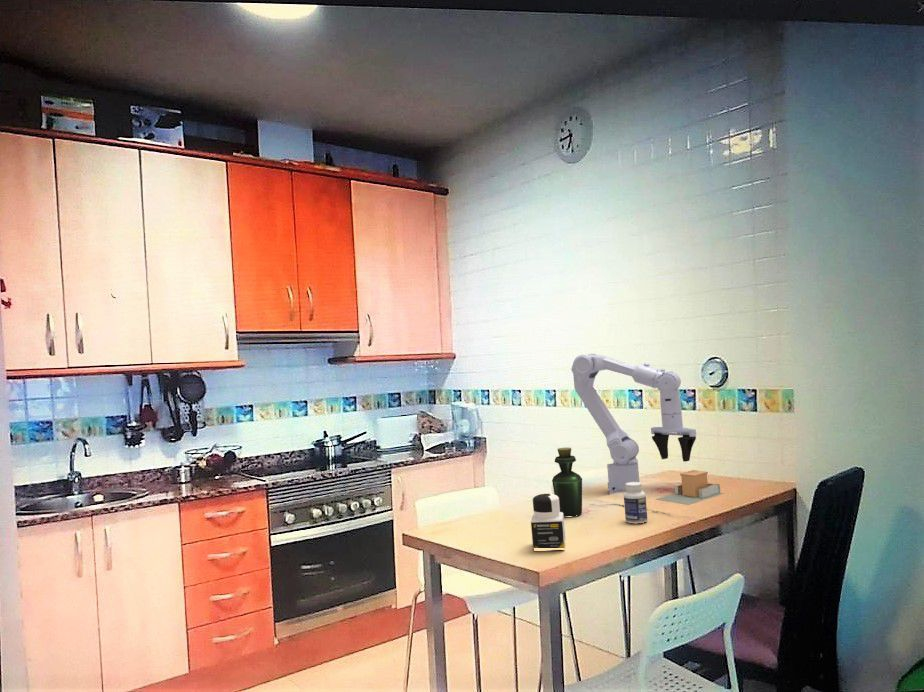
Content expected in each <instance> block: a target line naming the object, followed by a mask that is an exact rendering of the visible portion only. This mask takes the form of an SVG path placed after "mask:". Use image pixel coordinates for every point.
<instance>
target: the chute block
mask: <svg viewBox="0 0 924 692" xmlns="http://www.w3.org/2000/svg"><path fill="white" fill-rule="evenodd" d="M708 474H709V471H705V470H696V469H692V470H688V471H685V472H682V473H681V472H680V474H679V476H680V477H681V484H682V490H683V495H685V496H692V497H697V496H699V489H701V488H704V487H708V483H709V482H708Z"/></svg>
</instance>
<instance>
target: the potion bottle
mask: <svg viewBox="0 0 924 692" xmlns="http://www.w3.org/2000/svg"><path fill="white" fill-rule="evenodd" d="M556 449H557V452H558V456H555V458H554V463H556V464H558V467H559V469H560V471H559V472H558V473H557V474H554V476H553V478H552V480H551V483H552V488H553V494H554V495H557V496H558V497H559V506H560V512H563V515H564V516H576V515H579V516H581V515H582V513H583V478H582V476H581V475H580V474H578V473H576V472H575V471H574V470H572V469H573V464H574V463H575V462H576V461H577V459H576V456H575V455H572V447H566V446H565V447H558V448H556ZM580 514H581V515H580ZM576 517H577V516H576Z"/></svg>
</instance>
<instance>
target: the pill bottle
mask: <svg viewBox="0 0 924 692" xmlns="http://www.w3.org/2000/svg"><path fill="white" fill-rule="evenodd" d="M642 485H643V484H642V482H629V483H626V490H627V491H624V493H623V503H624V515H625V517H624V518H625V522H626V523H627V522H628V523H627V524H629V523H636V524H635V525H638V524H637V523H643V524H645V523H644V522H646V523H647V522H648V510H647V499H646V496H647V495H646V493H645V492H644V491H643V490H642V489H643V486H642Z"/></svg>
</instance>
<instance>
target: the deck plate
mask: <svg viewBox="0 0 924 692" xmlns="http://www.w3.org/2000/svg"><path fill="white" fill-rule="evenodd" d="M724 494H725V493H724V492H720V494H716V495H713V496H710V497H707V498H704V499H701V498H696V497H689V496H683V495H675V493H672V494H669V495H666V496H661V497H659V498H655V500H656V501H663V502H667V503H668V502H669V503H674V504H681V505H687V506H689V505H693V504H696V503H698V502H699V503H700V502H702V501H705V500H710V499H712V498H715V497H718V496H721V495H724Z"/></svg>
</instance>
